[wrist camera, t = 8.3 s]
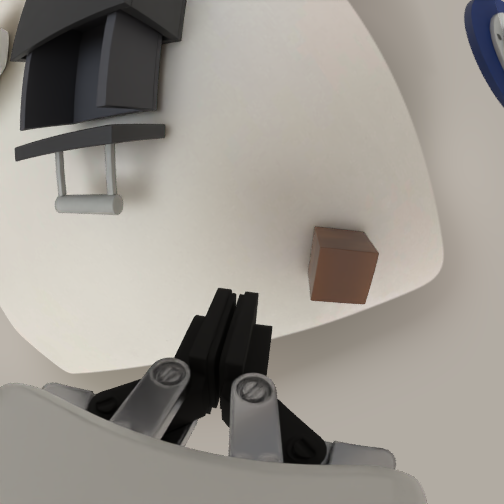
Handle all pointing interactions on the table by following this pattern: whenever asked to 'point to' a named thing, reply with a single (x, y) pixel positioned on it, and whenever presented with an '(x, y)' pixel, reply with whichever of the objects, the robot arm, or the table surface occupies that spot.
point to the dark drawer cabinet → (86, 9)
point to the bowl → (3, 49)
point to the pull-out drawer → (91, 97)
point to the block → (341, 266)
